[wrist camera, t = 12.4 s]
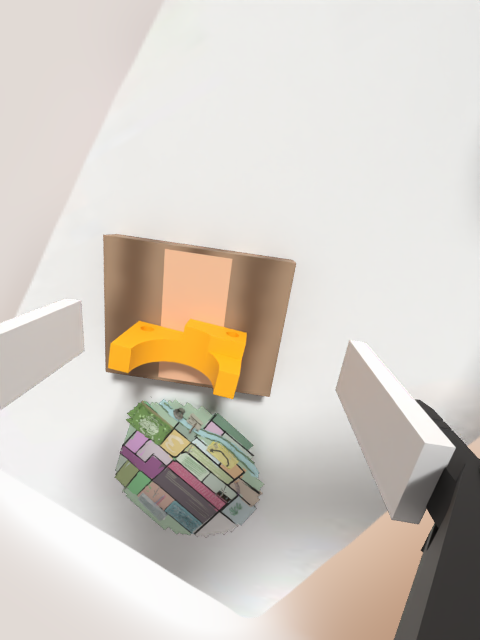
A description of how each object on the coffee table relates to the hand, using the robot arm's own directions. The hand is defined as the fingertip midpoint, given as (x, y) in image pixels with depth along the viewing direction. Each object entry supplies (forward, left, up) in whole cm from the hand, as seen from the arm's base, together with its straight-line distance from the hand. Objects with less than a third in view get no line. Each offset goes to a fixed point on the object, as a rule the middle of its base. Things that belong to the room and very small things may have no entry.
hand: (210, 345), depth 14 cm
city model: (+4, +28, -20) cm, 35 cm away
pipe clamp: (+4, +7, -17) cm, 19 cm away
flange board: (+4, +5, -20) cm, 21 cm away
